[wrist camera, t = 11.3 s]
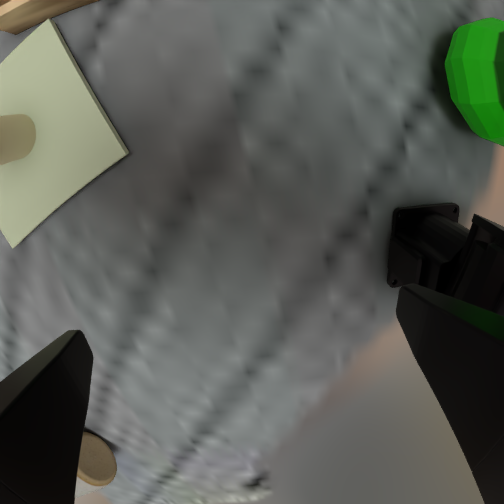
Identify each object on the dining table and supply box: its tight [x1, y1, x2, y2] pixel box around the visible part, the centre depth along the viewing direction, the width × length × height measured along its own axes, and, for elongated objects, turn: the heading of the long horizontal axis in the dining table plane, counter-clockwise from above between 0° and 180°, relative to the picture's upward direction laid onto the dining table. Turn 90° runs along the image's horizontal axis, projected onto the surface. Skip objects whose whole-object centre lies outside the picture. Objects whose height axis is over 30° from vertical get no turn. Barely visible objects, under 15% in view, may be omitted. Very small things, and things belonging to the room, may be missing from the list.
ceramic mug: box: [75, 432, 117, 498], centre depth 25 cm, size 11×8×8 cm
